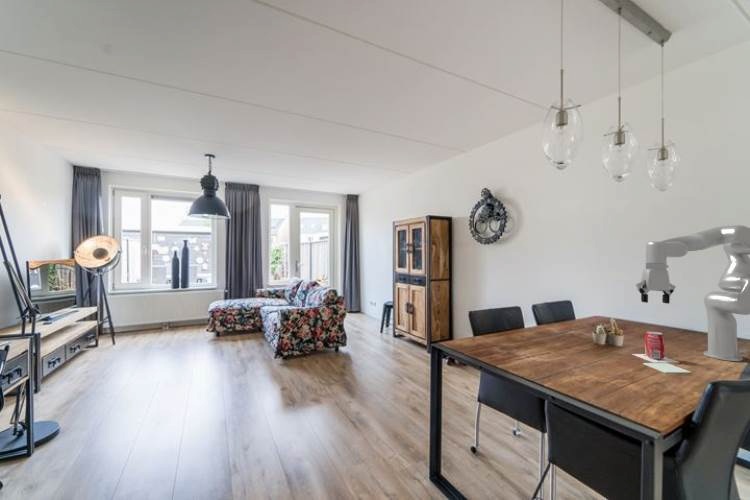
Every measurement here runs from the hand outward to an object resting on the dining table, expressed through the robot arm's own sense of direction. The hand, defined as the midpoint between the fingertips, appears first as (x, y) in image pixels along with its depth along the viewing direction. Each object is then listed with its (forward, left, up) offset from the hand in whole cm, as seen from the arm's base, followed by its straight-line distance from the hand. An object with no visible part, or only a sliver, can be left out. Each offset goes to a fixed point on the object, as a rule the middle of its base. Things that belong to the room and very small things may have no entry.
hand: (655, 302), depth 151 cm
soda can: (+1, 0, -27) cm, 27 cm away
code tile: (+1, 0, -27) cm, 27 cm away
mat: (+8, +13, -27) cm, 31 cm away
